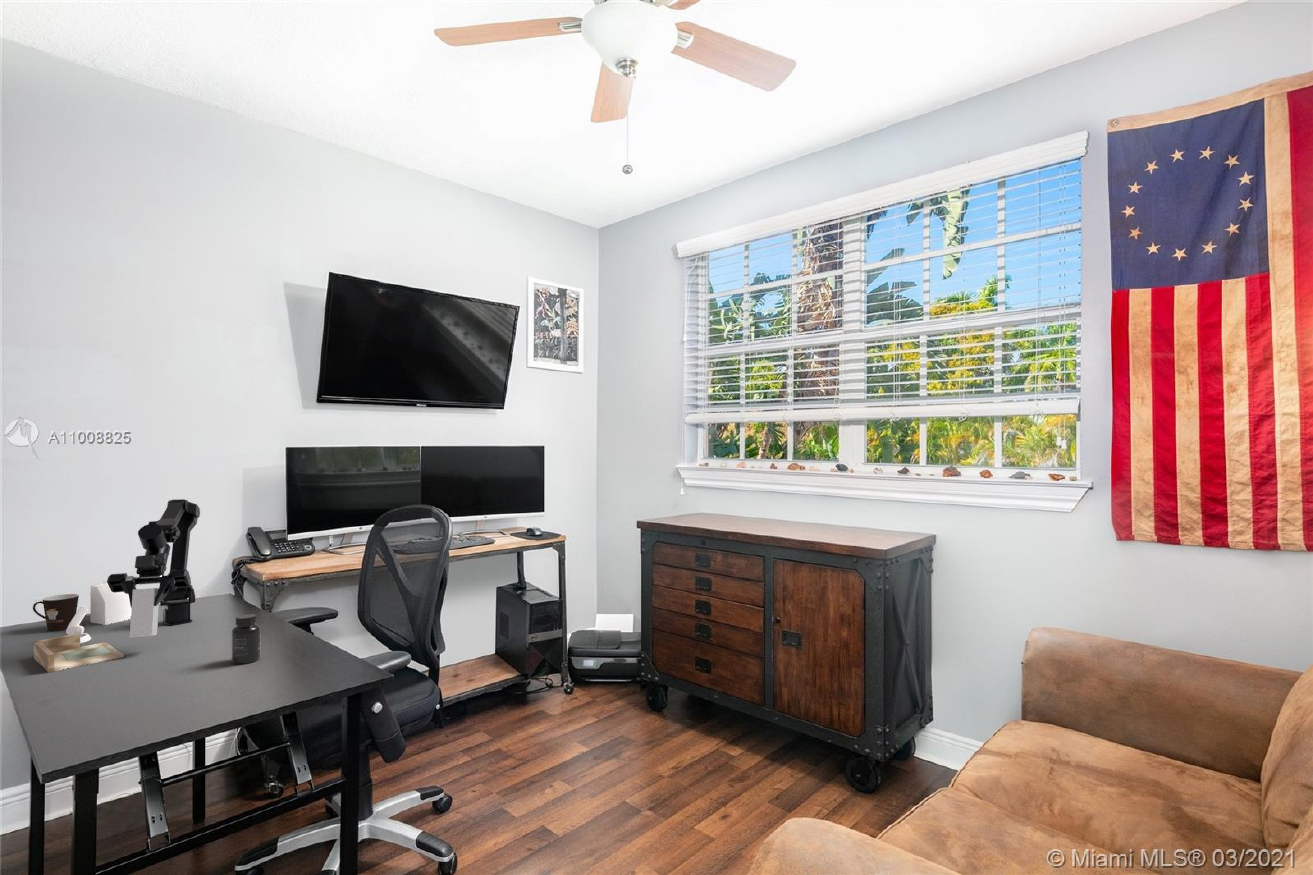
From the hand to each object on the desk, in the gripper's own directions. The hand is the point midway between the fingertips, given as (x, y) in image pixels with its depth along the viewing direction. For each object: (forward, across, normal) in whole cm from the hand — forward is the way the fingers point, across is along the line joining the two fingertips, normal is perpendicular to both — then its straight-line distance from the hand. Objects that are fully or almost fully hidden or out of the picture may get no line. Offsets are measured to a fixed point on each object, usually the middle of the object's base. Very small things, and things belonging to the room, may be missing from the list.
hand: (143, 606), depth 187 cm
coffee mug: (-19, -33, +39) cm, 55 cm away
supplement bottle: (+22, +28, -3) cm, 35 cm away
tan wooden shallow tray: (+7, -16, +12) cm, 21 cm away
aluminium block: (+6, 0, +6) cm, 8 cm away
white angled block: (-24, -21, +44) cm, 54 cm away
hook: (-6, -23, +25) cm, 35 cm away
